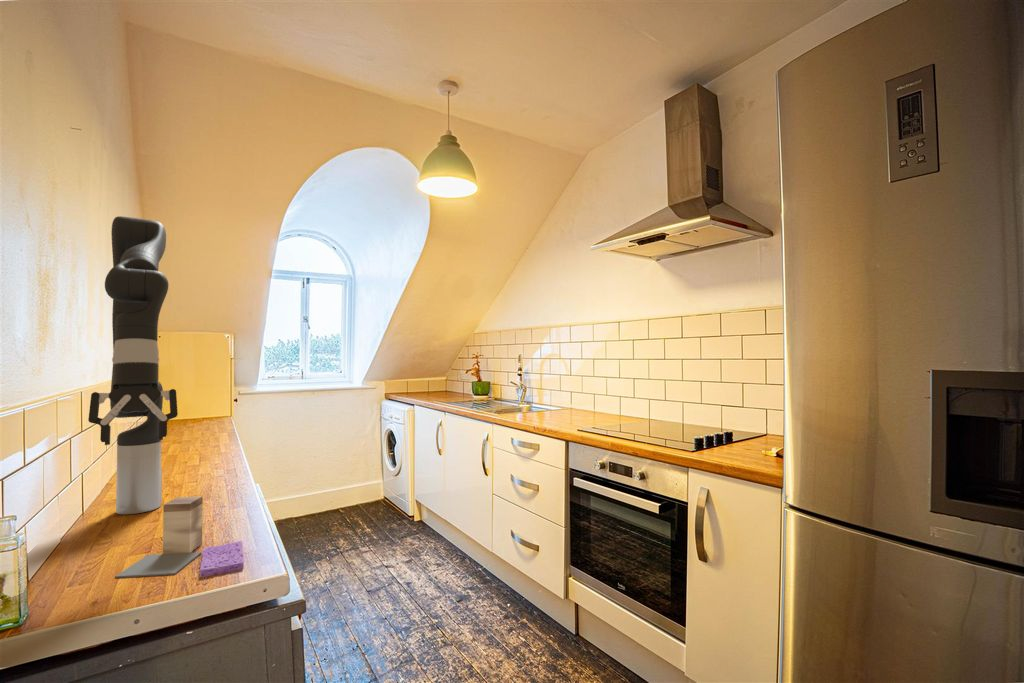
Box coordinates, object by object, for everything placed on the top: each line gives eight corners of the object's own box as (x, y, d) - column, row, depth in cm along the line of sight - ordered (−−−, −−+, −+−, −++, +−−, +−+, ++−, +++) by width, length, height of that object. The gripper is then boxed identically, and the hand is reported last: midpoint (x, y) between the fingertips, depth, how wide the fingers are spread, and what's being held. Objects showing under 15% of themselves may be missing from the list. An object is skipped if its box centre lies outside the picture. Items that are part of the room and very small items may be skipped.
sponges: (199, 580, 88) (199, 570, 88) (202, 555, 98) (203, 546, 98) (244, 571, 91) (244, 561, 91) (242, 548, 102) (242, 539, 102)
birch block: (176, 545, 103) (177, 497, 103) (202, 544, 103) (202, 496, 104) (162, 554, 98) (163, 504, 98) (189, 553, 99) (190, 503, 99)
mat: (147, 556, 97) (147, 554, 97) (201, 553, 98) (201, 552, 98) (115, 577, 88) (115, 576, 88) (175, 574, 89) (175, 572, 89)
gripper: (177, 364, 108) (176, 438, 106) (92, 365, 100) (90, 446, 98) (178, 360, 102) (177, 438, 100) (88, 360, 94) (85, 446, 92)
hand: (134, 442), depth 99 cm, fingers open, 8 cm apart
